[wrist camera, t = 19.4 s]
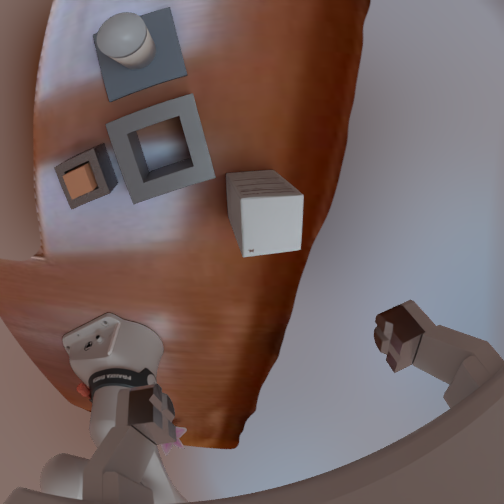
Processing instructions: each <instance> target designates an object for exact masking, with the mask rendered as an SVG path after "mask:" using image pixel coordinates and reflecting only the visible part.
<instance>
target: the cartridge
mask: <svg viewBox="0 0 504 504" xmlns="http://www.w3.org/2000/svg"><path fill="white" fill-rule="evenodd" d="M97 45H98V48H99V49H100V51H101V52H102V53H104V54H105V55H107V56H109V57H110V58H112V59H114V60H115V61H117V62H118V63H120V64H122V65H123V66H125V67H126V68H128V69H132V70H138V69H142V68H144V67H146V66H148V65H149V64H150V63H151V62H152V61H153V59H154V58H155V55H156V45H155V43H154V41H153V39H152V37H151V35H150V33H149V31H148V29H147V27H146V25H145V23H144V21H143V20H142V18H141V17H140V16H138V15H136V14H134V13H128V12H126V13H119V14H116V15H114V16H112V17H110V18H109V19H108V20H106V21H105V22H104V23H103V25H102V26H101V27H100V29H99V31H98V34H97Z"/></svg>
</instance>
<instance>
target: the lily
mask: <svg viewBox="0 0 504 504" xmlns="http://www.w3.org/2000/svg"><path fill="white" fill-rule="evenodd" d="M186 431H187V429H186V428H182V427H177V426H176V439H177V442H173V443H166V444H161V447H162V450H163V452H164V454H165V455H166V456H167V455H168V454H169V452H170V450H171V448H172V446H173V445H174V446H176V447H178V448H181V449H185V448H184V446H183V444H182V443H181V441H180V440H179V438H180V437H181V436H182V435H183V434H184V433H185V432H186Z"/></svg>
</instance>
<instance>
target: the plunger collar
mask: <svg viewBox="0 0 504 504" xmlns="http://www.w3.org/2000/svg"><path fill="white" fill-rule="evenodd" d="M87 161H89V163H90V166H91V168H92V171H93V174H94V176H95V179H96V182H97V184H98V186H97V187H96V188H95V189H94V190H93V191H90V192H88V193H86V194H84V195H81V196H79V197H77V198H75V199H71V196H70V194H69V191H68V189H67V186H66V184H65V181H64V179H63V176H64V175H65V174H66V173H68V172H69V171H71V170H72V169H74V168H75V167H77V166H78V165H80V164H82V163H84V162H87ZM54 168H55V171H56V173H57V176H58V179H59V181H60V184H61V186H62V189H63V191H64V194H65V196H66V198H67V201H68V203H69V205H70V208H71V209H74V208H76V207H78V206H80V205H83V204H85V203H87V202H90V201H92V200H95V199H97V198H99V197H102V196H104V195H107V194H109V193H111V191H112V190H113V189H114V187H115V186H116V185H117V184H118V181H117V178H116V175H115V173H114V170H113V167H112V164H111V162H110V159H109V156H108V153H107V150H106V147H105V144H104V143H103V144H100V145H98V146H96V147H93V148H91V149H89V150H87V151H85V152H83V153H80V154H78V155H76V156H74V157H72V158H70V159H68V160H66V161H65V162H63V163H61V164H59V165H58V166H56V167H54Z"/></svg>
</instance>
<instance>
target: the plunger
mask: <svg viewBox="0 0 504 504" xmlns="http://www.w3.org/2000/svg"><path fill="white" fill-rule="evenodd" d="M63 179H64V181H65V184H66V186H67V189H68V191H69V194H70V196H71V199H75V198H77V197H79V196H81V195H84V194H86V193H88V192H90V191H93V190H94V189H95V188H96V187H97V186H98V184H97V182H96V179H95V176H94V174H93V171H92V168H91V166H90V163H89V161H87V162H85V163H82V164H80V165H78V166H77V167H75V168H74V169H72V170H71V171H69V172H68V173H66V174H65V175H64V176H63Z"/></svg>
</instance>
